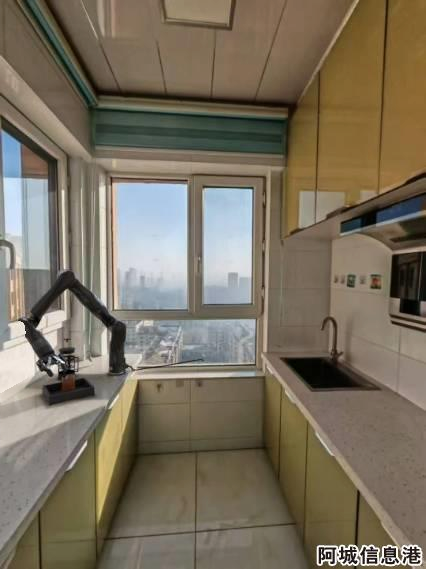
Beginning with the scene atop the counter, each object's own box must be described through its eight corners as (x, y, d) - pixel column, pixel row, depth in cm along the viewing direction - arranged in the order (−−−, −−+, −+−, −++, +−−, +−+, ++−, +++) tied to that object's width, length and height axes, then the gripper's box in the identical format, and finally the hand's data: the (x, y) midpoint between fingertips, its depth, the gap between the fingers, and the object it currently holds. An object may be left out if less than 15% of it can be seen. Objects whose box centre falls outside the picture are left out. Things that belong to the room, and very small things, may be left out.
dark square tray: (84, 386, 155) (84, 377, 155) (94, 396, 142) (94, 386, 142) (42, 395, 142) (42, 385, 142) (48, 407, 129) (48, 396, 129)
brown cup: (73, 390, 146) (73, 373, 146) (76, 394, 141) (76, 376, 141) (60, 393, 142) (60, 375, 142) (63, 397, 138) (63, 379, 137)
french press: (53, 380, 162) (54, 340, 162) (59, 375, 171) (59, 337, 171) (76, 379, 165) (76, 340, 164) (80, 374, 174) (80, 336, 173)
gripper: (34, 347, 139) (51, 373, 136) (58, 341, 153) (74, 365, 149) (26, 356, 141) (43, 382, 138) (50, 350, 155) (66, 373, 151)
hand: (59, 373), depth 143 cm, fingers open, 8 cm apart
